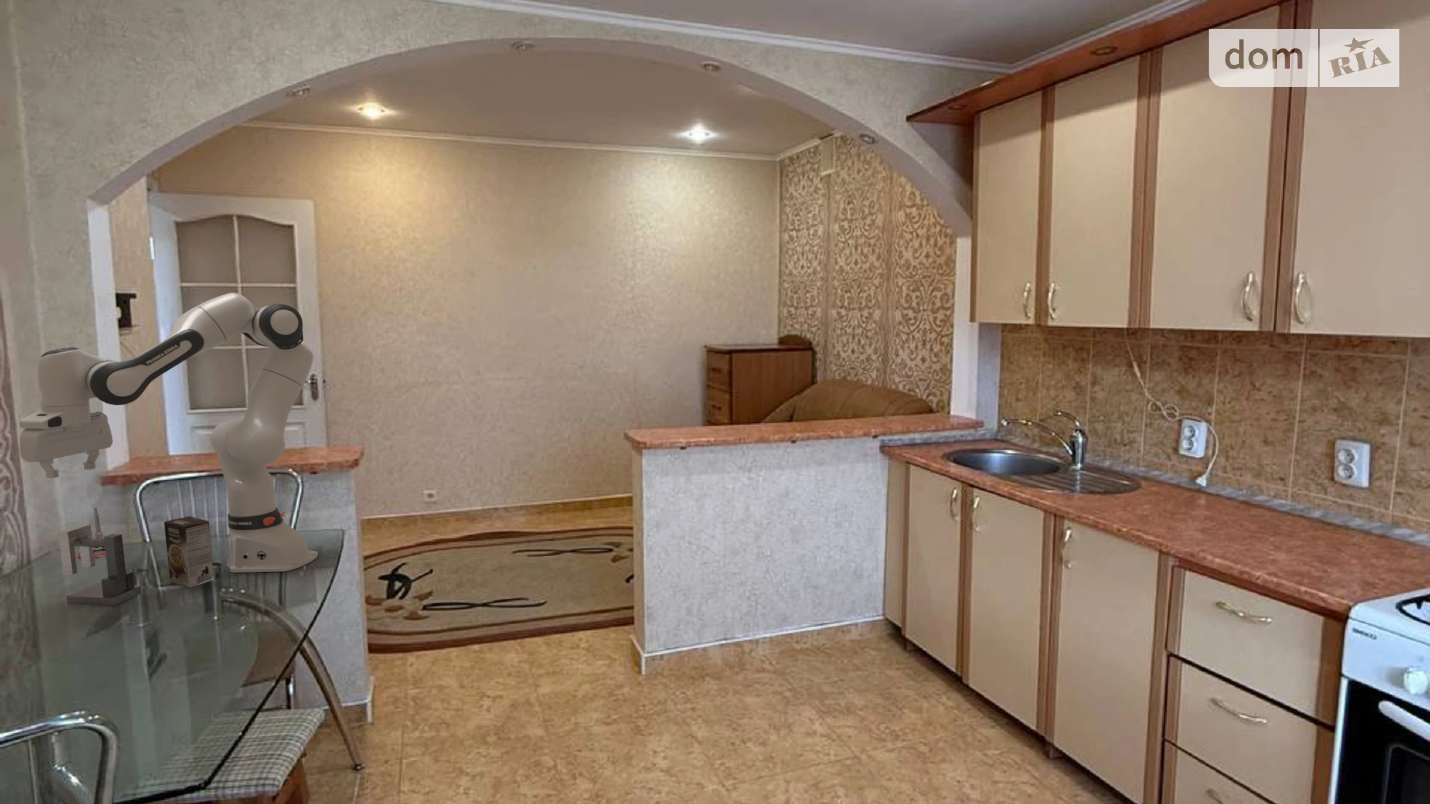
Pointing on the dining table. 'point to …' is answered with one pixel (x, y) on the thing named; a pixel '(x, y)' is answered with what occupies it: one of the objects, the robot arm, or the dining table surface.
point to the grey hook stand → (118, 580)
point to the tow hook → (97, 529)
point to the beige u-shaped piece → (69, 552)
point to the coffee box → (188, 550)
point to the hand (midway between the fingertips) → (71, 473)
